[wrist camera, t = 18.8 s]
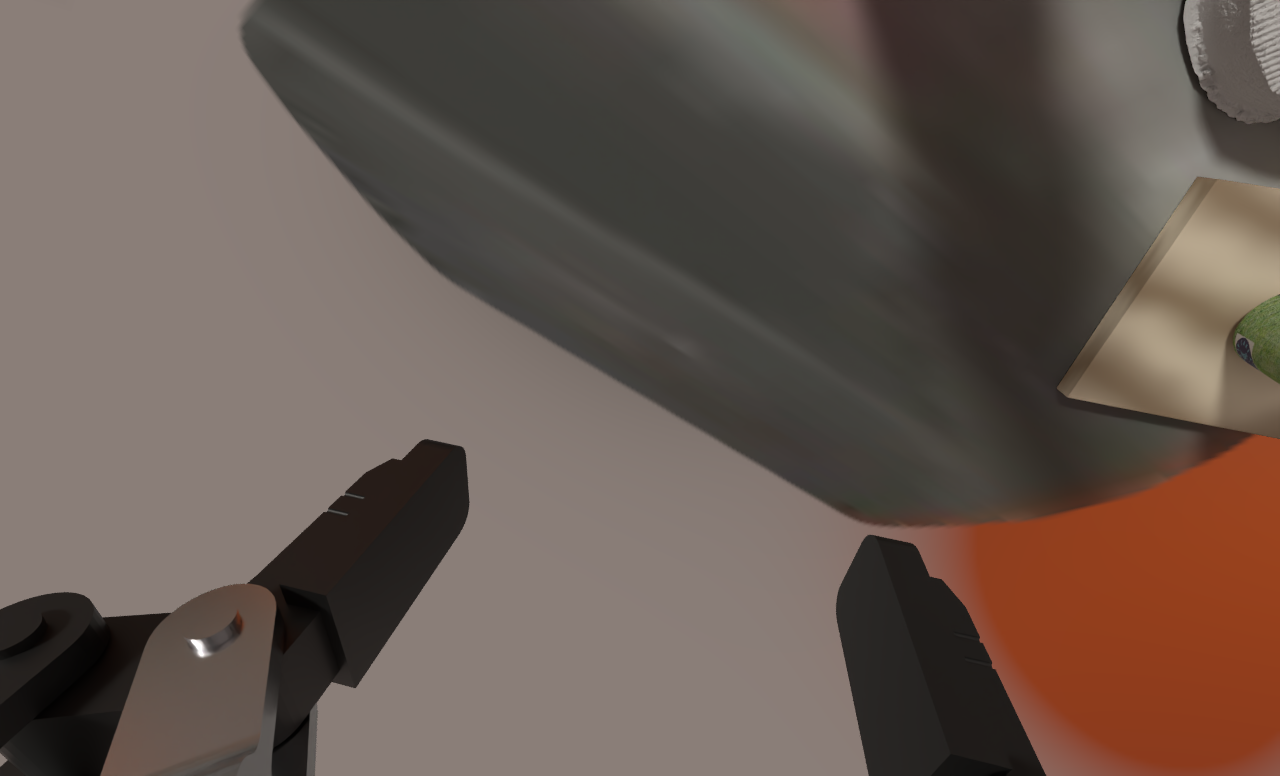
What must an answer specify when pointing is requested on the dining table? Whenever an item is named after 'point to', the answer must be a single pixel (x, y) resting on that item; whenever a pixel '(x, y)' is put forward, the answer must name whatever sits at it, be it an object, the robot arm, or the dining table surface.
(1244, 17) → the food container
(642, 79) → the dining table surface
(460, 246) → the dining table surface
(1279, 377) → the beverage can
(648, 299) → the dining table surface
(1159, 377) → the coaster board
